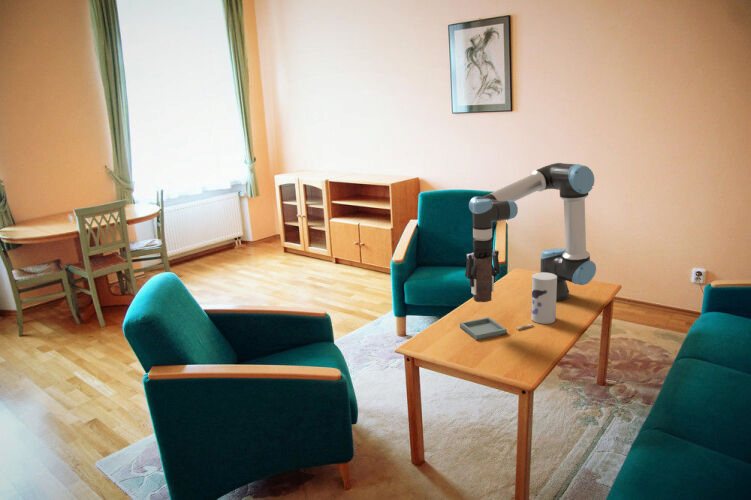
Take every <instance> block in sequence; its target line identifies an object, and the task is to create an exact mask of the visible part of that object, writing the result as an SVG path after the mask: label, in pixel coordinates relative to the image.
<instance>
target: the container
mask: <svg viewBox="0 0 751 500" xmlns="http://www.w3.org/2000/svg"><path fill="white" fill-rule="evenodd" d="M531 280H532V281H531V282H532V283H531V286H532V287H531V315H530V318H531V320H532V322H534V323H537V324H542V325H543V324H545V325H548V324H553V323H555V322H556V319H557V318H556V317H557V316H556V315H557V314H556V312H557V301H556V293H557V276H556V275H555V274H552V273H544V272H542V273H541V272H536V273H533V274H532V275H531Z"/></svg>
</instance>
